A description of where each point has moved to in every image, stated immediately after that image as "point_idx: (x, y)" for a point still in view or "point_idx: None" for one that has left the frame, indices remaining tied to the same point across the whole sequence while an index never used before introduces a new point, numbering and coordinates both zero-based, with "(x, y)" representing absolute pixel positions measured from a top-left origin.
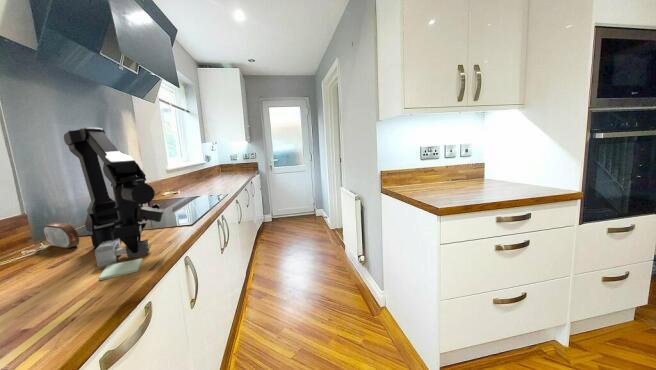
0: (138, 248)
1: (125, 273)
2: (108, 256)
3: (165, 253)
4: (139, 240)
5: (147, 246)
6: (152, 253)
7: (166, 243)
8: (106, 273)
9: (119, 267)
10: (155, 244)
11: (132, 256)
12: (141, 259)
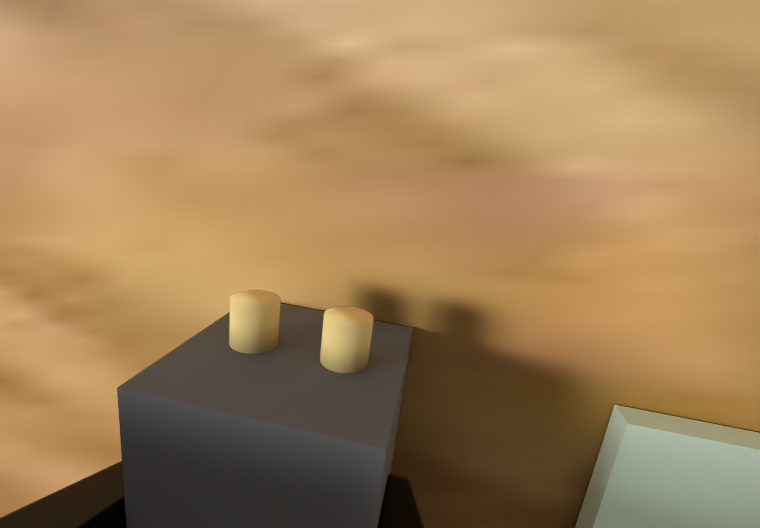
0: (382, 500)
1: None
2: None
3: (606, 90)
4: (107, 518)
5: (346, 366)
6: (423, 271)
7: (87, 57)
8: None
9: None
10: (49, 209)
11: None
12: (691, 437)
